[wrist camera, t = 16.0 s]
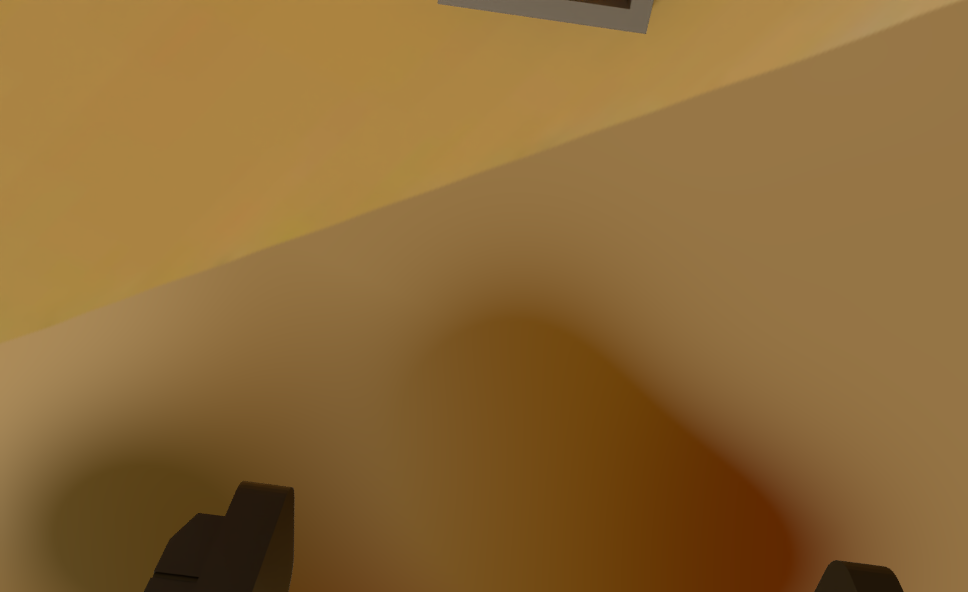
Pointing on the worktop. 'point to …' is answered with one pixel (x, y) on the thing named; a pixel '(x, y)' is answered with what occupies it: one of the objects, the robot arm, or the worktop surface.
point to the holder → (572, 11)
